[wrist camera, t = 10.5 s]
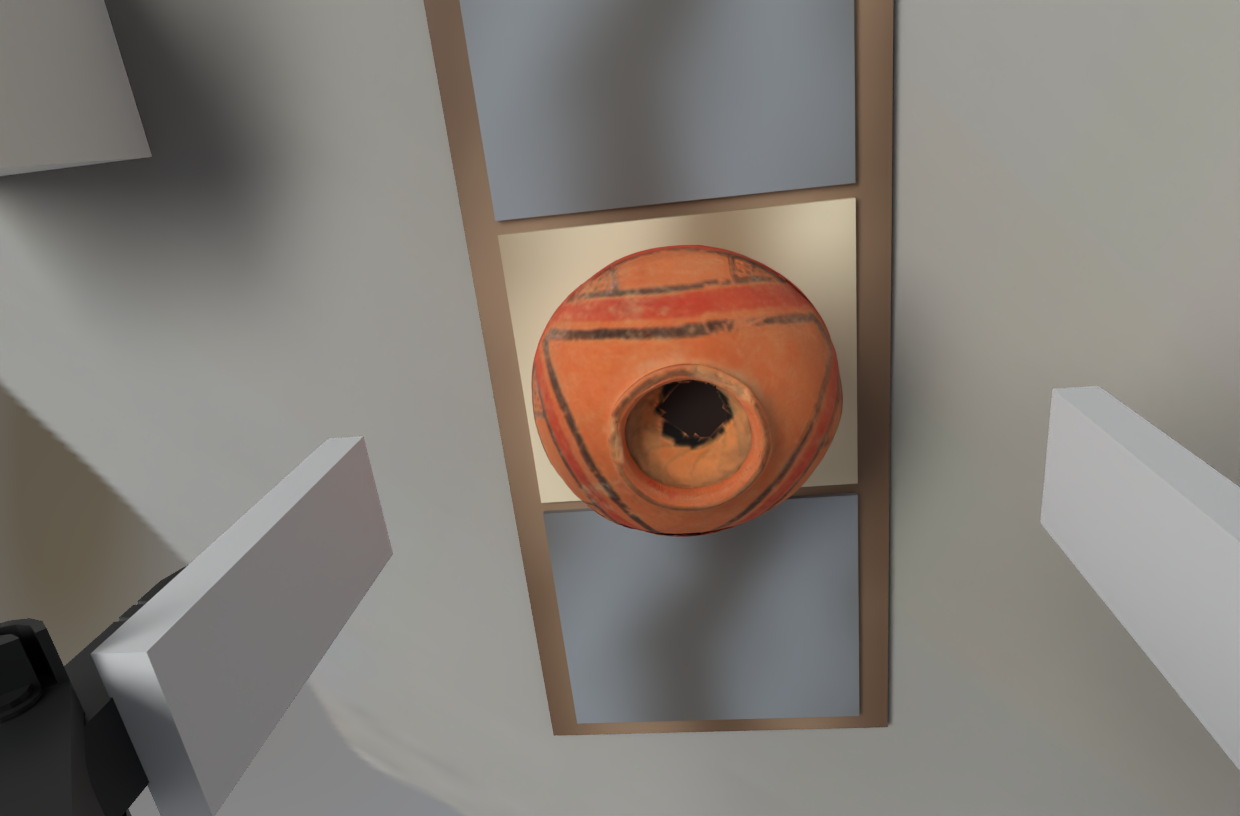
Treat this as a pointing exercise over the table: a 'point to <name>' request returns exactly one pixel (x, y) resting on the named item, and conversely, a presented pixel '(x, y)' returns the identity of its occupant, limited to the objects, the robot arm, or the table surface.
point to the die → (63, 88)
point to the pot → (685, 390)
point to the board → (668, 216)
